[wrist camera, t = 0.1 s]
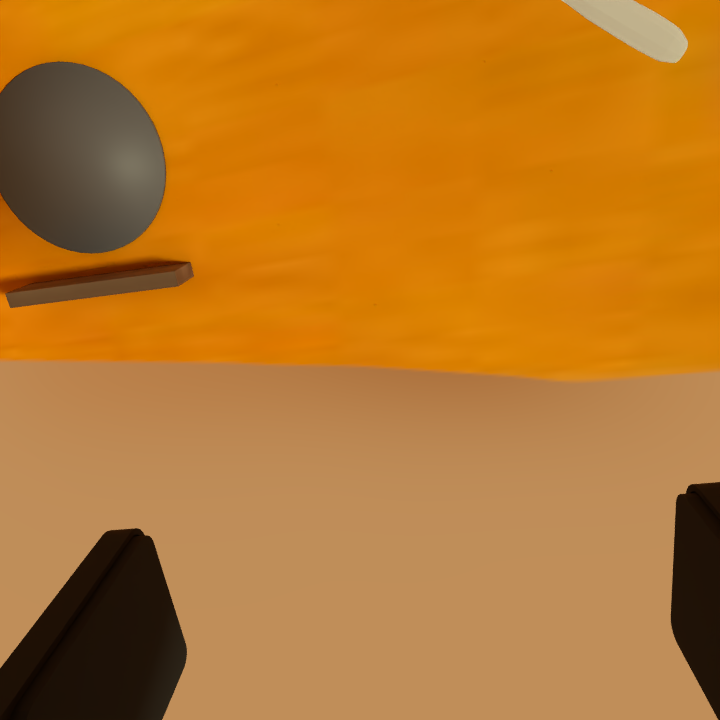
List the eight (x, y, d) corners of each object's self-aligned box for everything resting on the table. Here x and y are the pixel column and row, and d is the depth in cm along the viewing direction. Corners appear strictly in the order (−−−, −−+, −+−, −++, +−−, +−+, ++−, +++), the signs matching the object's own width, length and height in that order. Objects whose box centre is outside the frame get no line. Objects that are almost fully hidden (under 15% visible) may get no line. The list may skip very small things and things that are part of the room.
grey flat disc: (-38, 79, 38) (-40, 78, 38) (137, 47, 36) (136, 46, 36) (24, 263, 42) (23, 263, 42) (185, 240, 40) (184, 241, 40)
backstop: (31, 283, 42) (5, 293, 39) (190, 262, 41) (174, 271, 38) (36, 296, 43) (10, 307, 40) (193, 276, 41) (178, 286, 38)
